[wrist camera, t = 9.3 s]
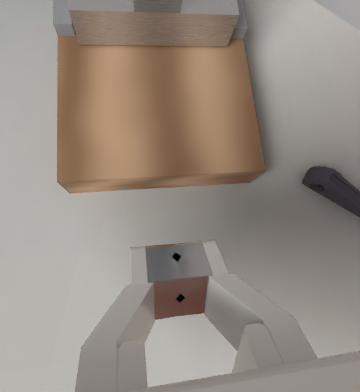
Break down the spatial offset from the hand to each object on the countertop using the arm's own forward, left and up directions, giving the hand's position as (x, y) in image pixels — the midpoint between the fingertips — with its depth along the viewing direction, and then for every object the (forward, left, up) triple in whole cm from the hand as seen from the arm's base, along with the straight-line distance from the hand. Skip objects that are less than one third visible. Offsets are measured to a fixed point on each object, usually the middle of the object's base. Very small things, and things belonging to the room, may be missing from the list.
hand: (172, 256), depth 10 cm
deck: (+1, +11, -11) cm, 15 cm away
